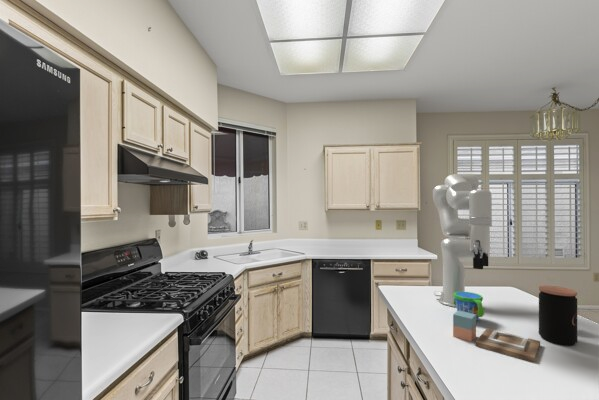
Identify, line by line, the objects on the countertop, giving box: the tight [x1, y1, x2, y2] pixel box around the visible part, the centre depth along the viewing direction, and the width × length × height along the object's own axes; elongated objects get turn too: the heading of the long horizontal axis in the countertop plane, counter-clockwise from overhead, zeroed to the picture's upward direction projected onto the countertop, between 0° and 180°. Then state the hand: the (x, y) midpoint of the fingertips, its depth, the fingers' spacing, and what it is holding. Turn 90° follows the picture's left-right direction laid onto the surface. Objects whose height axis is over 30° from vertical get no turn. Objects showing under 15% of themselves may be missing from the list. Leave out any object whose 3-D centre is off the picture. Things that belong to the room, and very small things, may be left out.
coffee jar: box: [538, 285, 578, 347], centre depth 112 cm, size 11×11×18 cm
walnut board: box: [475, 327, 541, 363], centre depth 106 cm, size 16×16×2 cm
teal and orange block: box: [452, 310, 477, 342], centre depth 114 cm, size 6×6×8 cm
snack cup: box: [454, 291, 485, 322], centre depth 131 cm, size 16×10×10 cm
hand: (480, 267), depth 119 cm, fingers open, 9 cm apart
